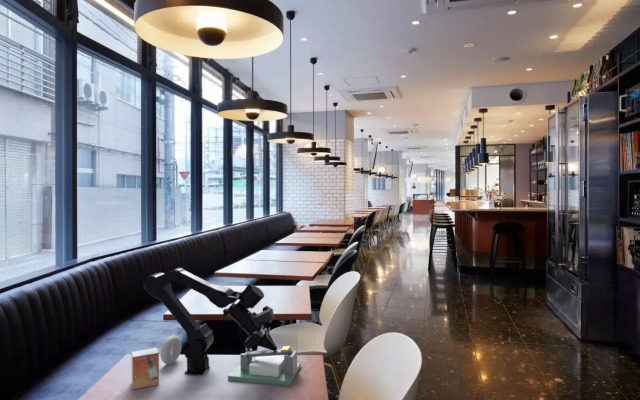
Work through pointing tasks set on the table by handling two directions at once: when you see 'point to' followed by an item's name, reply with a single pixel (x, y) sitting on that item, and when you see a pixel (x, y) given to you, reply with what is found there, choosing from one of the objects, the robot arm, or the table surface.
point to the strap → (269, 352)
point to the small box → (145, 368)
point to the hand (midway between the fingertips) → (276, 349)
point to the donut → (166, 347)
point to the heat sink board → (261, 378)
